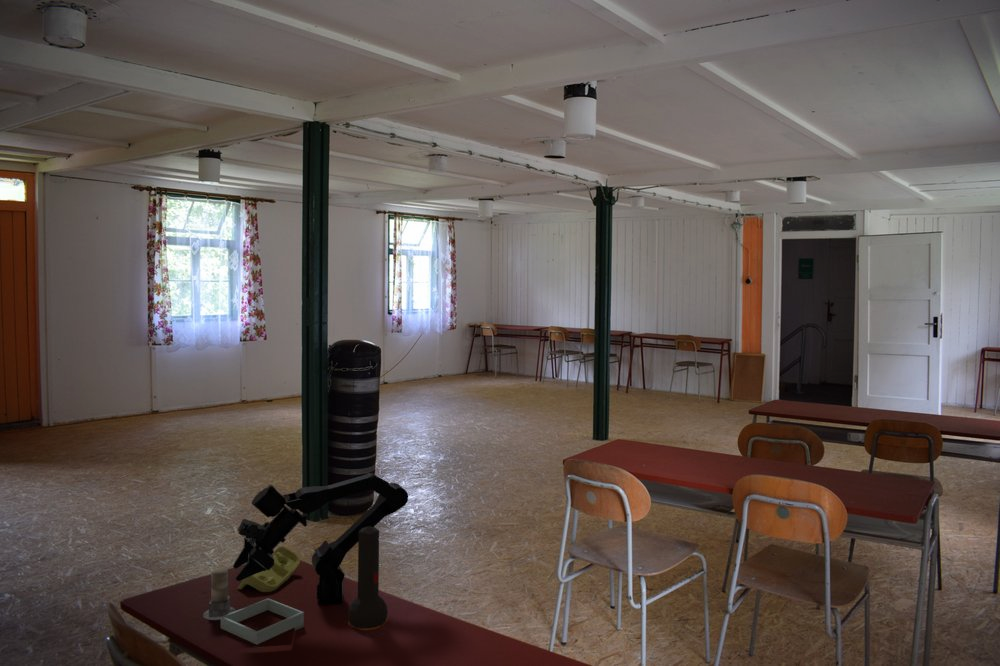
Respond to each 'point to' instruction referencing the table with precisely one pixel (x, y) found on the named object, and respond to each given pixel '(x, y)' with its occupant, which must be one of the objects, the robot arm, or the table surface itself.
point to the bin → (293, 620)
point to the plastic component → (274, 571)
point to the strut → (219, 593)
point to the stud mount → (206, 615)
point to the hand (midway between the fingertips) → (235, 573)
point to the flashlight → (368, 583)
